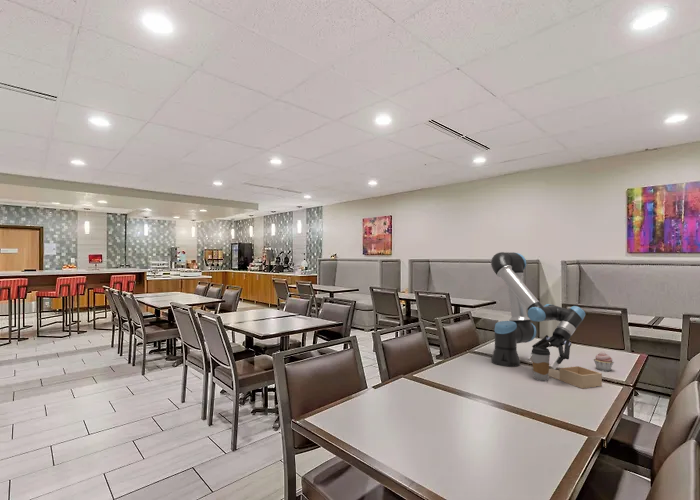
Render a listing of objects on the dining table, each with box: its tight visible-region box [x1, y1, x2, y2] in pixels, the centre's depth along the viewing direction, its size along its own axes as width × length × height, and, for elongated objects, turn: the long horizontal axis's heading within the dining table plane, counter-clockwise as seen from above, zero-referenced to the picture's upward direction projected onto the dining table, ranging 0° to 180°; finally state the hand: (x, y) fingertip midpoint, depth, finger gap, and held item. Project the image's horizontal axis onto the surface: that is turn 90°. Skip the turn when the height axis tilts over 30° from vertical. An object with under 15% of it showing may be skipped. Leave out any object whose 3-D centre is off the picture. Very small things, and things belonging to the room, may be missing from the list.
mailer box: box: [548, 365, 603, 390], centre depth 182 cm, size 28×12×6 cm, turn 18°
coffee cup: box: [531, 347, 551, 382], centre depth 181 cm, size 8×8×15 cm
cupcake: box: [592, 351, 615, 372], centre depth 198 cm, size 9×9×10 cm
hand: (541, 364), depth 180 cm, fingers open, 13 cm apart
